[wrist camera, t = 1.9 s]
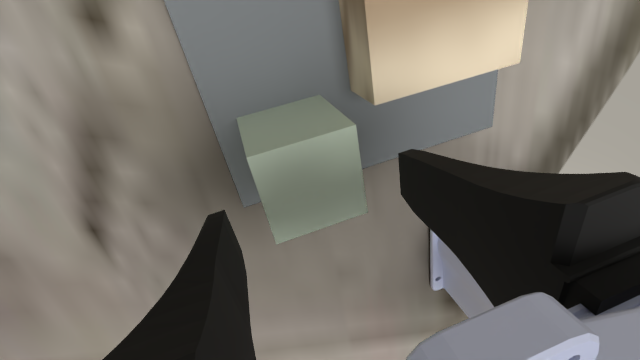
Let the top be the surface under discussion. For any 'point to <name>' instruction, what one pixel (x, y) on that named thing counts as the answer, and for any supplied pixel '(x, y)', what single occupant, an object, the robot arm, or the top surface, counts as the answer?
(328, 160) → the sage block
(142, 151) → the top surface
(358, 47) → the oak base
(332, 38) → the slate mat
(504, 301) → the robot arm
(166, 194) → the top surface
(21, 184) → the top surface
